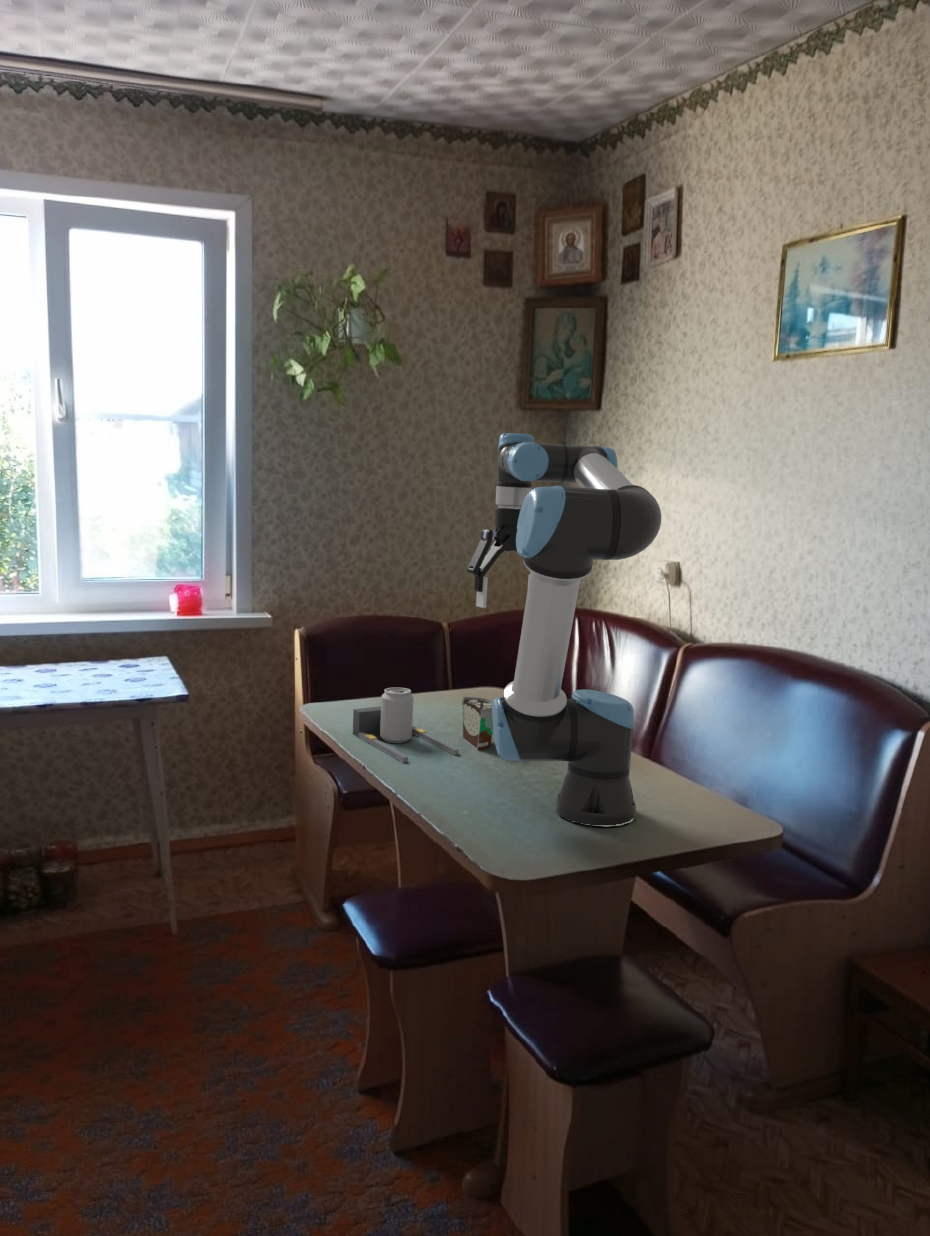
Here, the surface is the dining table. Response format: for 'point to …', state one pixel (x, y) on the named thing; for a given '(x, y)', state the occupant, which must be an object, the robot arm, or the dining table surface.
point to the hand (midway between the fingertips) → (506, 605)
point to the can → (396, 715)
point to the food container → (477, 722)
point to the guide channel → (369, 725)
